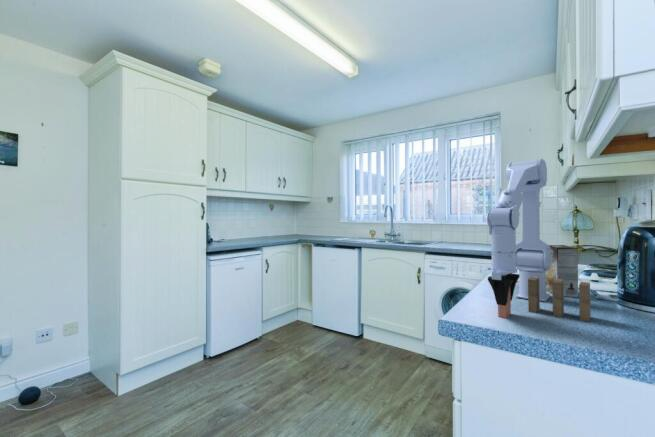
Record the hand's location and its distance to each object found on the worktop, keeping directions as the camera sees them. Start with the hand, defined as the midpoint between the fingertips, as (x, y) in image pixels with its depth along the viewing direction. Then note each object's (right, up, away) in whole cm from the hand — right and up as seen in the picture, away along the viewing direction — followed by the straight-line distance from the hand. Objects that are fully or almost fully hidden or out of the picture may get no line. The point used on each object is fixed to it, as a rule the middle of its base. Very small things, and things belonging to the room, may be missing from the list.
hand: (504, 302), depth 82 cm
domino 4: (+19, -3, -4) cm, 19 cm away
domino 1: (0, -3, 0) cm, 3 cm away
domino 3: (+15, -3, 0) cm, 15 cm away
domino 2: (+11, -3, +4) cm, 12 cm away
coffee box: (+31, -3, +21) cm, 38 cm away
